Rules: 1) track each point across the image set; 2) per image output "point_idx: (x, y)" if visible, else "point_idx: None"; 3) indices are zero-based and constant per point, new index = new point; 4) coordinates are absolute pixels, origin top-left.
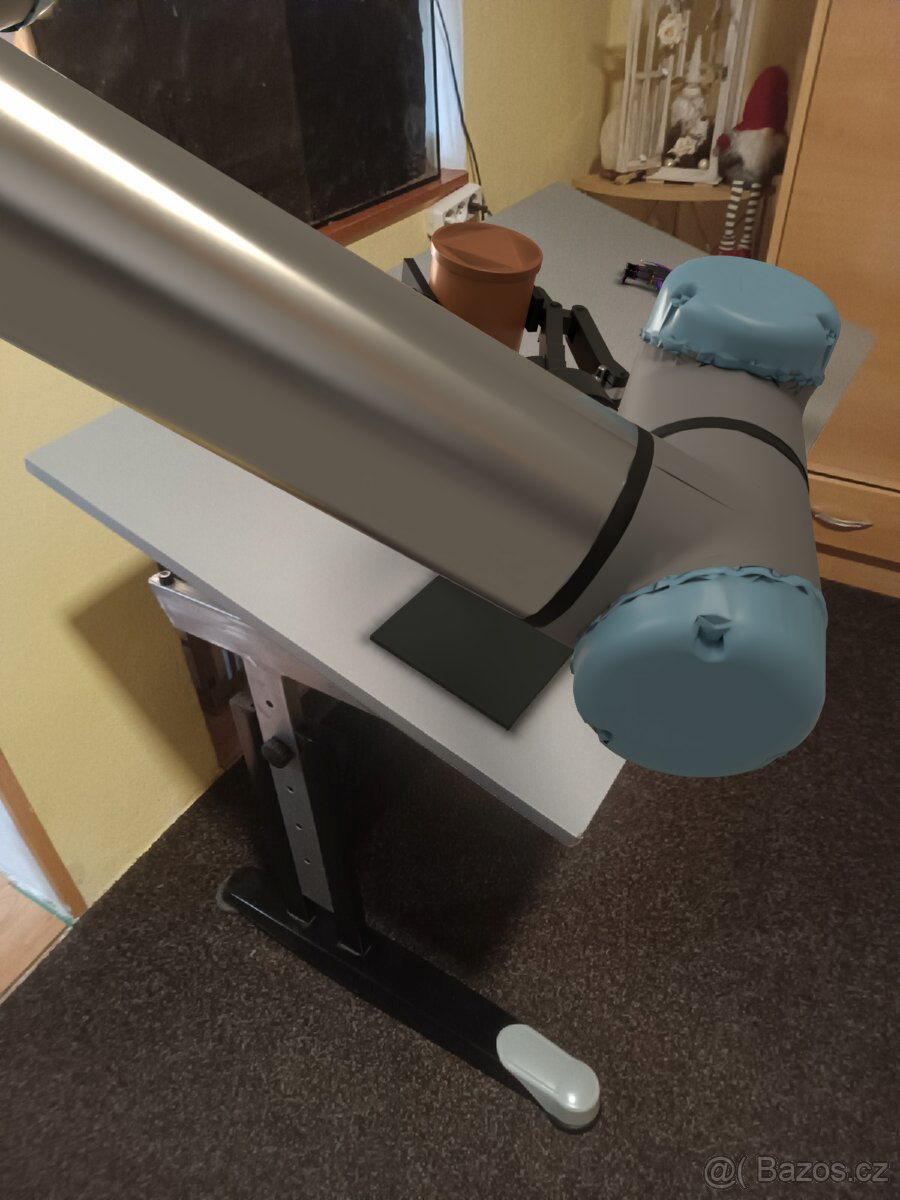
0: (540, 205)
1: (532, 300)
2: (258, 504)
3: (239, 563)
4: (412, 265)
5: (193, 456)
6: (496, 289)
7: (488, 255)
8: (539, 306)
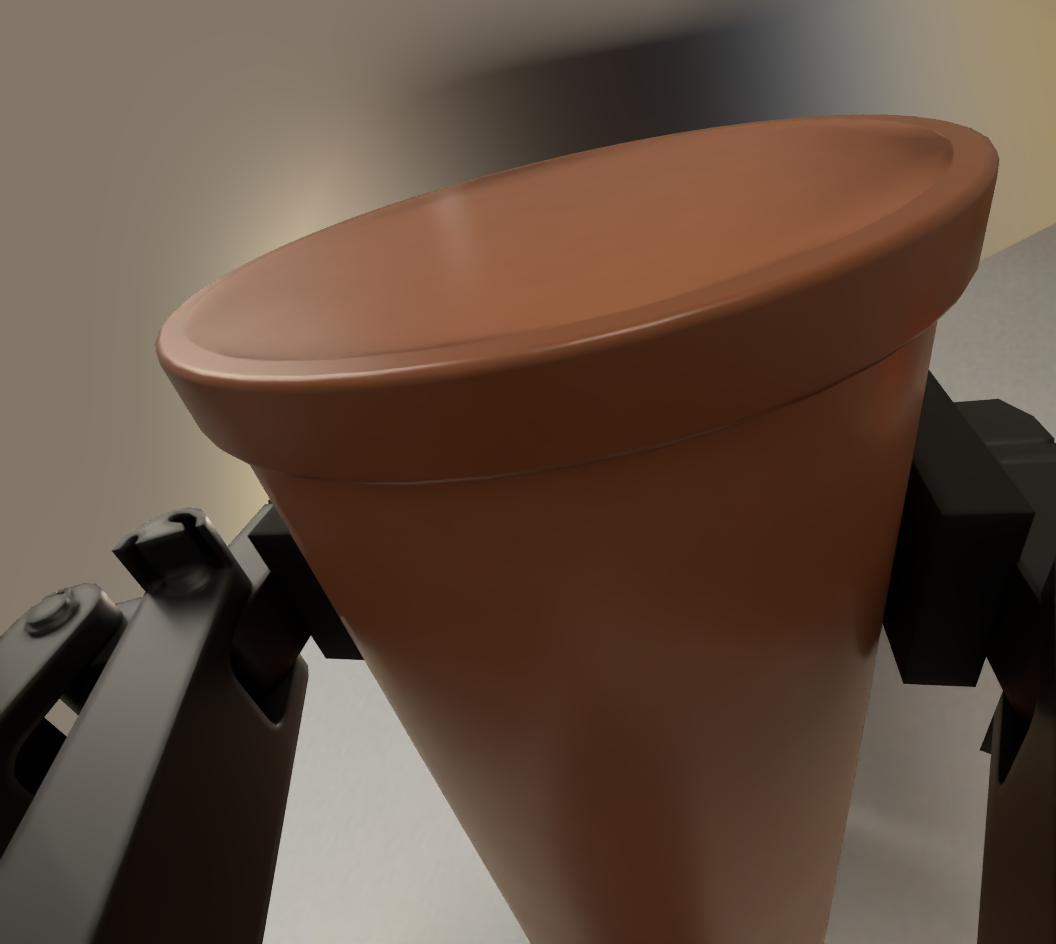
0: (1038, 243)
1: (922, 515)
2: (403, 766)
3: (289, 920)
4: None
5: None
6: (417, 527)
7: (458, 252)
8: (986, 559)
